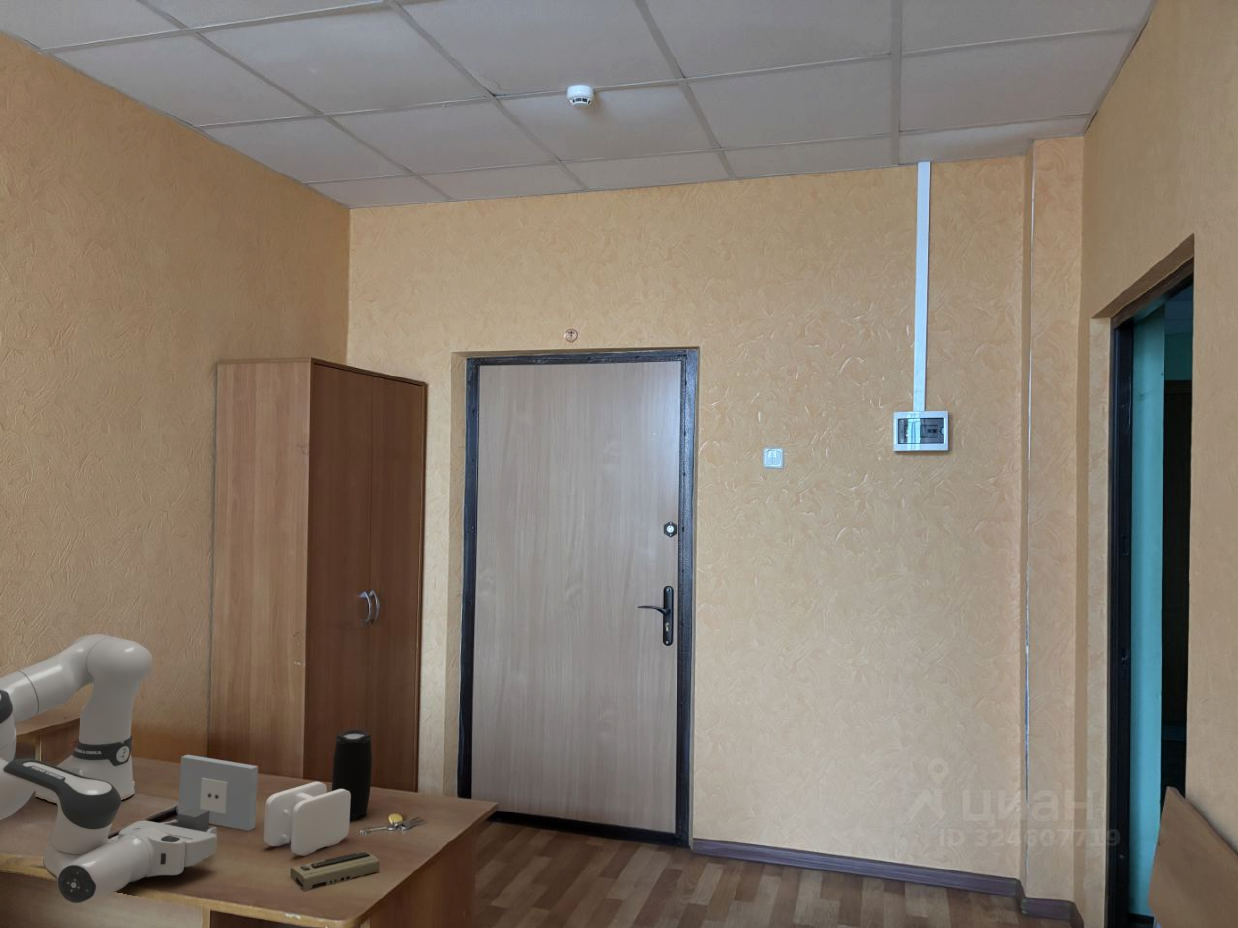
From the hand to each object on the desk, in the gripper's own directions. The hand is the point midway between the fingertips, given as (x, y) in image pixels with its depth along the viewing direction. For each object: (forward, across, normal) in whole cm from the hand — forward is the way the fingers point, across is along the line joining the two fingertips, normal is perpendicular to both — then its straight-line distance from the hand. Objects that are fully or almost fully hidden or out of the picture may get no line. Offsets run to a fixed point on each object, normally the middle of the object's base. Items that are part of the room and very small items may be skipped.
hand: (196, 826), depth 189 cm
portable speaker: (+31, +17, -6) cm, 36 cm away
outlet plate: (+15, -8, -6) cm, 18 cm away
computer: (+3, +32, -6) cm, 33 cm away
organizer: (+13, +18, -6) cm, 23 cm away
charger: (-1, 0, -6) cm, 6 cm away
